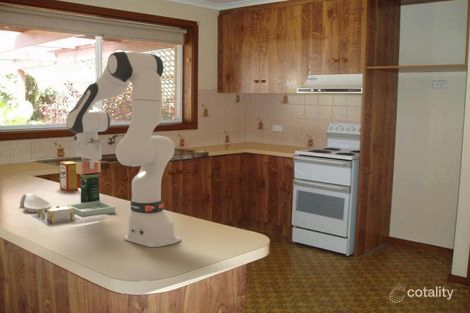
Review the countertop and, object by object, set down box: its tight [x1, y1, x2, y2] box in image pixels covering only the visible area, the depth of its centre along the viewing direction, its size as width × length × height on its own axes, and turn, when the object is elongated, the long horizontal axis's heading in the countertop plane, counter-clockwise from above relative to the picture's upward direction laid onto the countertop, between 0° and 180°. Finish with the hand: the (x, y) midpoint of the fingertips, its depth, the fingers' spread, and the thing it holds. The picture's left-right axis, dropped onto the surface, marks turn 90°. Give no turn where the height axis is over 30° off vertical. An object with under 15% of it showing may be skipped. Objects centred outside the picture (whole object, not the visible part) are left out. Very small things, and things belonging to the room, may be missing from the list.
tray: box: [66, 200, 116, 217], centre depth 220 cm, size 16×16×3 cm
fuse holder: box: [31, 205, 81, 226], centre depth 206 cm, size 19×14×6 cm
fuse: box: [75, 160, 102, 175], centre depth 217 cm, size 4×10×5 cm, turn 133°
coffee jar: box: [79, 172, 101, 203], centre depth 238 cm, size 10×8×19 cm
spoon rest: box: [19, 192, 53, 214], centre depth 223 cm, size 24×12×7 cm, turn 43°
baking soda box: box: [58, 160, 79, 192], centre depth 272 cm, size 10×6×16 cm
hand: (88, 168), depth 217 cm, fingers closed on fuse, 4 cm apart
